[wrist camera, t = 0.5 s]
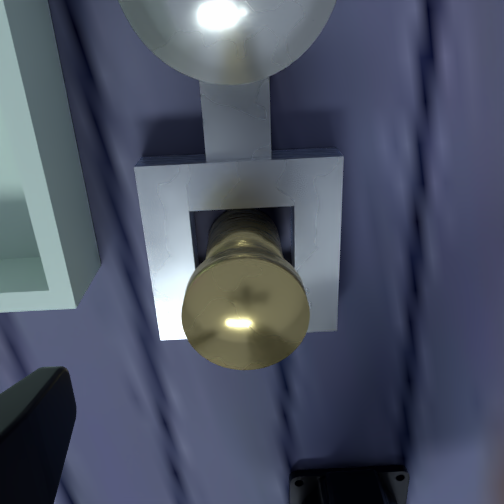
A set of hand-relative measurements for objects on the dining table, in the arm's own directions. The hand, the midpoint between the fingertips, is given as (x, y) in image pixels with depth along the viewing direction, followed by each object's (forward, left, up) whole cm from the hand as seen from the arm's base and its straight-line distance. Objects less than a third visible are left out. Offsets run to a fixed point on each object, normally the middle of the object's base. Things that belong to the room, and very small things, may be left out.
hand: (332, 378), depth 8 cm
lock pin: (-3, +2, -12) cm, 13 cm away
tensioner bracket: (+2, +2, -12) cm, 12 cm away
